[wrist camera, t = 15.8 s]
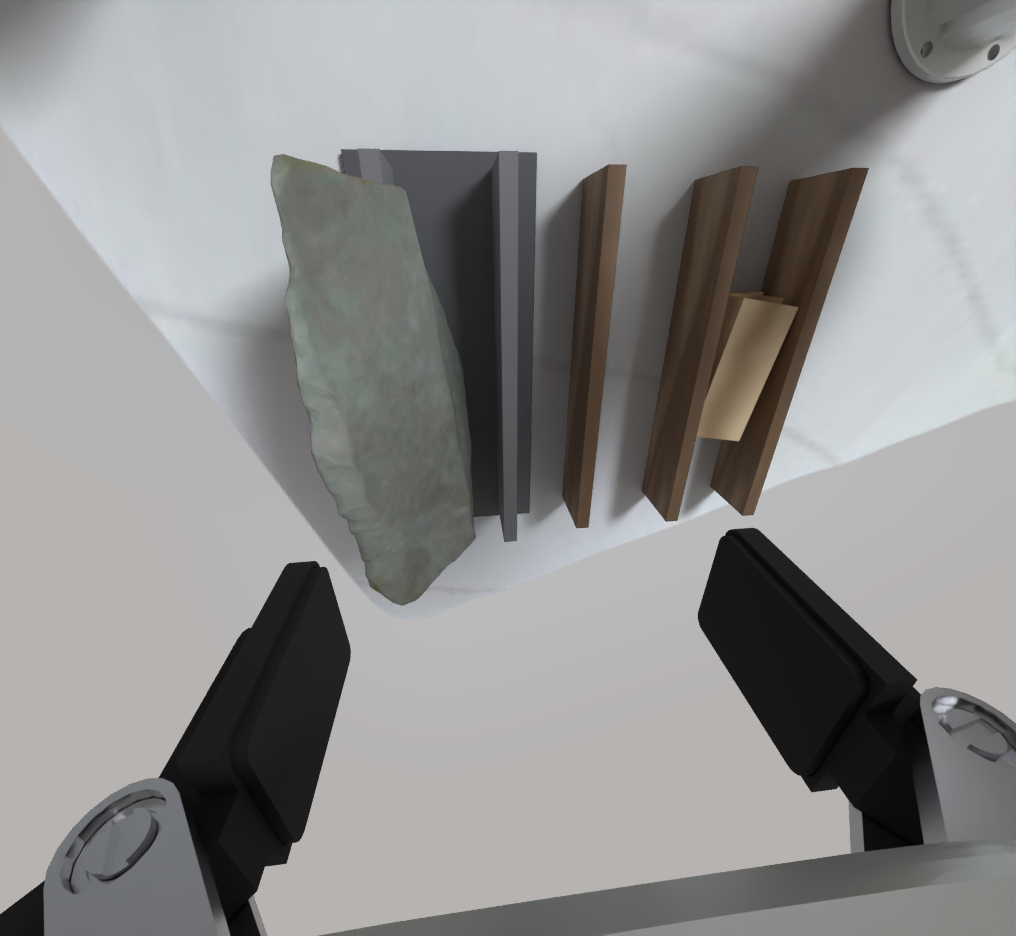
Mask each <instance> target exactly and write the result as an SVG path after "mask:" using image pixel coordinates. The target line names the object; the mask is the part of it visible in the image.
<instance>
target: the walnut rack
mask: <svg viewBox="0 0 1016 936" xmlns="http://www.w3.org/2000/svg"><path fill="white" fill-rule="evenodd" d="M626 166H627V165H607V166H605V167H604V168H602V169H600V170H598V171H597V172H595V173H593V174H591V175H590V176H588V177H586V178H584V179H583V190H582V205H581V220H580V235H579V251H578V266H577V281H576V296H575V312H574V327H573V342H572V357H571V373H570V388H569V403H568V418H567V434H566V449H565V464H564V479H563V495H562V496H563V499H564V501H565V503H566V506H567V508H568V510H569V512H570V515H571V517H572V519H573V521H574V524H575V526H576V528H587V527H589V517H590V508H591V498H592V489H593V479H594V470H595V460H596V451H597V441H598V432H599V422H600V413H601V403H602V394H603V384H604V375H605V365H606V356H607V346H608V337H609V327H610V318H611V308H612V299H613V289H614V280H615V270H616V261H617V251H618V242H619V232H620V223H621V213H622V204H623V194H624V185H625V175H626ZM868 169H869V168H850V169H845V170H841V171H836V172H831V173H826V174H822V175H817V176H812V177H808V178H803V179H798V180H793V181H790V184H789V188H788V192H787V195H786V199H785V203H784V207H783V211H782V214H781V218H780V222H779V226H778V230H777V234H776V237H775V241H774V245H773V249H772V253H771V256H770V260H769V264H768V268H767V272H766V275H765V279H764V283H763V287H762V291H761V292H763V295H767V296H775V297H782V298H784V300H783V303H782V304H783V305H789V306H795V307H799V308H798V310H797V312H796V314H795V317H794V319H793V321H792V323H791V326H790V328H789V330H788V332H787V335H786V337H785V339H784V341H783V344H782V346H781V348H780V350H779V353H778V355H777V357H776V359H775V362H774V364H773V366H772V368H771V371H770V373H769V375H768V377H767V380H766V382H765V384H764V386H763V389H762V391H761V393H760V395H759V398H758V400H757V402H756V404H755V407H754V409H753V411H752V413H751V416H750V418H749V420H748V422H747V425H746V427H745V429H744V431H743V434H742V436H741V438H740V440H739V441H732V440H722V443H721V447H720V451H719V455H718V459H717V462H716V466H715V470H714V474H713V478H712V481H711V485H710V486H711V487H712V488H713V489H714V490H715V491H716V492H717V493H718V494H719V495H720V496H721V497H723V498H724V499H725V500H726V501H727V502H728V503H729V504H730V505H731V506H733V508H735V509H736V510H737V511H738V512H739V513H740V514H741V515H742V516H745V515H754V512H755V508H756V505H757V503H758V499H759V497H760V494H761V491H762V488H763V485H764V482H765V479H766V476H767V473H768V470H769V467H770V464H771V461H772V458H773V455H774V452H775V449H776V446H777V443H778V440H779V437H780V434H781V431H782V428H783V425H784V422H785V419H786V415H787V412H788V409H789V406H790V403H791V400H792V397H793V394H794V391H795V388H796V385H797V382H798V379H799V376H800V373H801V370H802V367H803V364H804V361H805V358H806V355H807V352H808V349H809V346H810V343H811V340H812V337H813V334H814V331H815V328H816V325H817V322H818V319H819V316H820V313H821V310H822V307H823V304H824V301H825V298H826V295H827V292H828V289H829V286H830V283H831V280H832V277H833V274H834V271H835V268H836V265H837V262H838V259H839V256H840V253H841V250H842V247H843V244H844V241H845V238H846V235H847V232H848V229H849V226H850V223H851V220H852V217H853V214H854V211H855V208H856V205H857V202H858V199H859V196H860V193H861V190H862V187H863V184H864V181H865V178H866V175H867V172H868ZM757 171H758V167H755V166H741V167H738V168H734V169H731V170H728V171H724V172H721V173H718V174H714V175H711V176H708V177H704V178H701V179H698V180H695V185H694V191H693V197H692V203H691V208H690V214H689V220H688V226H687V232H686V238H685V243H684V249H683V255H682V261H681V267H680V272H679V278H678V284H677V290H676V296H675V301H674V307H673V313H672V319H671V325H670V331H669V336H668V342H667V348H666V354H665V360H664V365H663V371H662V377H661V383H660V389H659V394H658V400H657V406H656V412H655V418H654V424H653V429H652V435H651V441H650V447H649V453H648V458H647V464H646V470H645V476H644V482H643V487H642V492H643V493H644V494H645V495H646V497H647V498H648V499H649V501H650V502H651V503H652V504H653V506H654V507H655V508H656V509H657V511H658V512H659V513H660V515H661V516H662V517H663V518H664V520H665V521H666V522H667V521H677V520H678V516H679V511H680V507H681V503H682V498H683V494H684V490H685V485H686V481H687V476H688V472H689V468H690V463H691V459H692V455H693V450H694V446H695V441H696V437H697V433H698V428H699V424H700V420H701V415H702V411H703V406H704V402H705V398H706V393H707V389H708V385H709V380H710V376H711V372H712V367H713V363H714V358H715V354H716V350H717V345H718V341H719V337H720V332H721V328H722V323H723V319H724V315H725V310H726V306H727V302H728V297H729V293H730V289H731V284H732V280H733V275H734V271H735V267H736V262H737V258H738V254H739V249H740V245H741V240H742V236H743V232H744V227H745V223H746V219H747V214H748V210H749V205H750V201H751V197H752V192H753V188H754V184H755V179H756V175H757Z"/></svg>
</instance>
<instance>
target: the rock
mask: <svg viewBox="0 0 1016 936" xmlns="http://www.w3.org/2000/svg"><path fill="white" fill-rule="evenodd" d="M271 187H272V191H273V194H274V198H275V202H276V205H277V209H278V213H279V216H280V221H281V226H282V241H283V244H284V248H285V252H286V256H287V259H288V263H289V267H290V277H289V285H288V288H287V291H286V295H285V302H286V305H287V310H288V315H289V321H290V331H291V340H292V345H293V349H294V354H295V358H296V364H297V383H298V386H299V388H300V391H301V397H302V401H303V404H304V406H305V408H306V410H307V412H308V416H309V419H310V422H311V434H310V436H311V453H312V455H313V458H314V461H315V464H316V467H317V469H318V471H319V473H320V475H321V477H322V479H323V481H324V483H325V484H326V487H327V489H328V490H329V492H330V493H331V494H332V495H333V497H334V499H335V501H336V503H337V508H338V514H339V515H341V516H342V517H344V518H345V519H347V521H348V524H349V531H350V532H351V533H352V534H353V535H355V538H356V540H357V543H358V547H359V549H360V554H361V558H362V560H363V561H364V562H365V575H366V577H367V579H368V582H369V585H370V587H371V588H373V589H374V590H376V591H377V592H379V593H381V594H382V595H383V596H385V597H386V598H387V599H389V600H390V601H392V602H393V603H396V604H399V605H405V604H408V603H410V602H413V601H415V600H417V599H418V598H419V597H420V596H421V595H422V594H423V593H424V592H425V591H426V590H427V588H428V587H429V586H430V585H431V583H432V582H433V581H434V580H435V579H436V578H437V577H438V576H439V575H440V573H441V572H442V571H443V570H444V569H445V568H446V567H447V566H448V565H449V564H450V563H452V562H454V561H455V560H456V559H457V558H458V557H459V556H460V555H461V554H462V553H463V551H464V550H465V549H466V548H467V547H468V546H469V545H470V544H471V543H472V542H473V540H474V539H475V537H476V535H475V531H474V521H473V496H472V478H471V438H470V432H469V423H468V411H467V406H466V392H465V384H464V371H463V367H462V364H461V361H460V357H459V353H458V351H457V349H456V346H455V345H454V342H453V338H452V335H451V332H450V329H449V327H448V325H447V320H446V316H445V313H444V310H443V308H442V306H441V303H440V300H439V298H438V295H437V292H436V290H435V289H434V287H433V284H432V282H431V279H430V277H429V274H428V272H427V270H426V268H425V266H424V262H423V258H422V255H421V251H420V247H419V243H418V239H417V235H416V231H415V227H414V223H413V218H412V214H411V210H410V206H409V202H408V198H407V194H406V191H405V190H404V189H402V188H401V187H399V186H394V185H389V184H383V183H378V182H374V181H369V180H366V179H362V178H358V177H354V176H350V175H346V174H343V173H340V172H338V171H336V170H334V169H332V168H330V167H327V166H324V165H320V164H317V163H314V162H310V161H305V160H301V159H297V158H294V157H291V156H288V155H284V154H282V155H276V156H274V158H273V163H272V168H271Z"/></svg>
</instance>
